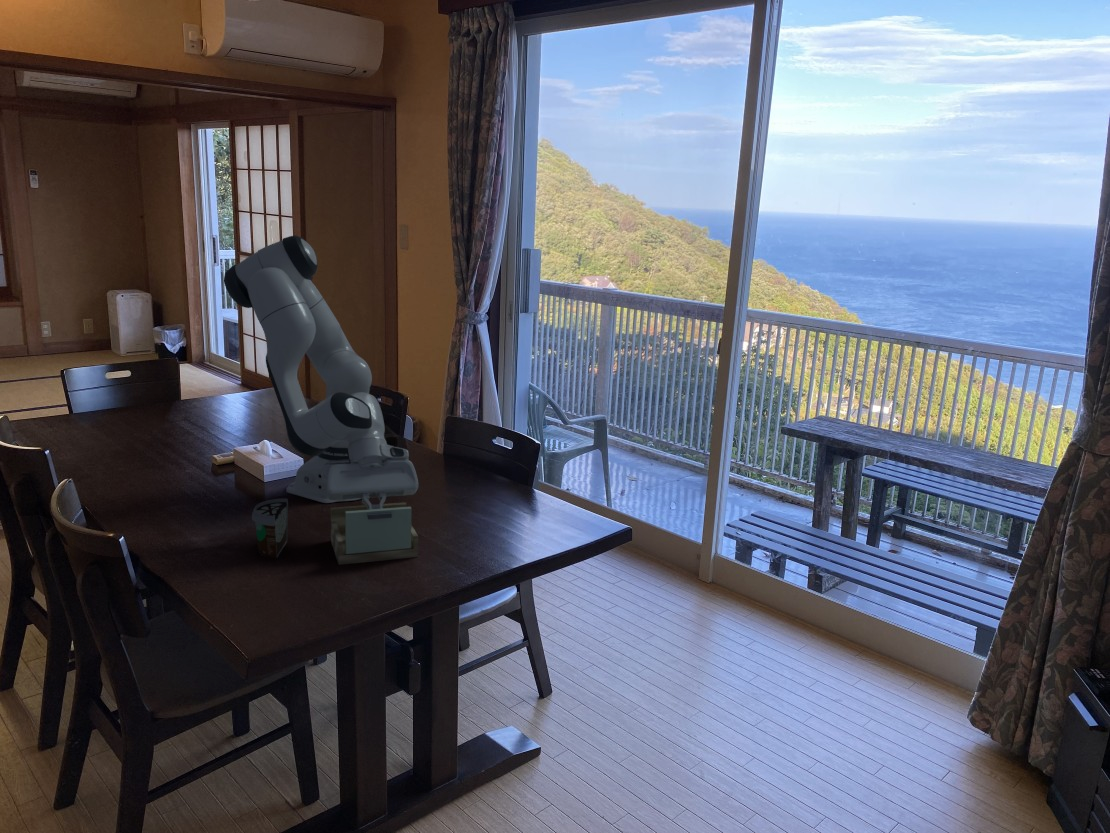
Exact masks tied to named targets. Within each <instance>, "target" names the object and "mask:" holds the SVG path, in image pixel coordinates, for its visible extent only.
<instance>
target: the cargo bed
mask: <svg viewBox="0 0 1110 833" xmlns="http://www.w3.org/2000/svg"><path fill="white" fill-rule="evenodd" d="M377 504H378V503H377ZM377 504H375V505H377ZM382 507H383V509H385V508H398V507H408V505H407V502H404V501H403V502H394V503H384V504H383V506H382ZM358 510H368V508H367V507H366V506H365V505H364V504H363V505H353V506H339V507H338V506H337V507H330V542H331V546H332V548H333V551H334V555H335V558H336V561H337V564H338V565H339V566H340V565H348V564H349V565H350V564H361V563H369V562H380V561H390V560H399V559H411V558H418V557H419V535H418V533H417V532H416V530H415V528H414V527H413V524H411V548H406V549H395V550H385V551H374V552H363V553H353V554H346V552H345V511H358Z"/></svg>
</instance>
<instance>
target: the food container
mask: <svg viewBox="0 0 1110 833" xmlns="http://www.w3.org/2000/svg"><path fill="white" fill-rule="evenodd" d="M253 508H254V509H253V510H252V514H251V520H252V521H253V522H254V523H255V531H256V539H257V540H256V541H257V551H258V553H259V554H260V555H261V556H263V557H266V558H271V559H272V558H273V559H277V558H278V557H279V556H280V553H281V552H282V550H283V549H284V547H285V546H286V544H287V543H288V508H289V501H288V498H274V499H269V500H265V501H262V502H260V503H257V504H256V505H255V507H253Z"/></svg>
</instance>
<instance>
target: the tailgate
mask: <svg viewBox="0 0 1110 833" xmlns="http://www.w3.org/2000/svg"><path fill="white" fill-rule="evenodd" d="M412 512H413V511H412V507H411V506H407V507H398V508H385V509H371V510H358V511H345V552H346V554H353V553H363V552H374V551H385V550H395V549H406V548H411V525H412V515H413V514H412Z"/></svg>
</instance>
